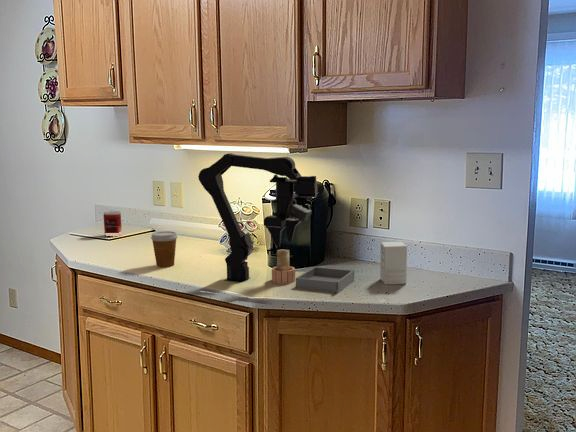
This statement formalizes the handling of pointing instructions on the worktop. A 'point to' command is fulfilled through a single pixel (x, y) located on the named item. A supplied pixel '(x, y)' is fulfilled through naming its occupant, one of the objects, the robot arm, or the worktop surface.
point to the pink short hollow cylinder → (283, 276)
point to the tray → (325, 279)
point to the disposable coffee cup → (164, 248)
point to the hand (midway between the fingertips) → (284, 244)
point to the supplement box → (393, 263)
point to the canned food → (112, 222)
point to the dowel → (283, 260)
